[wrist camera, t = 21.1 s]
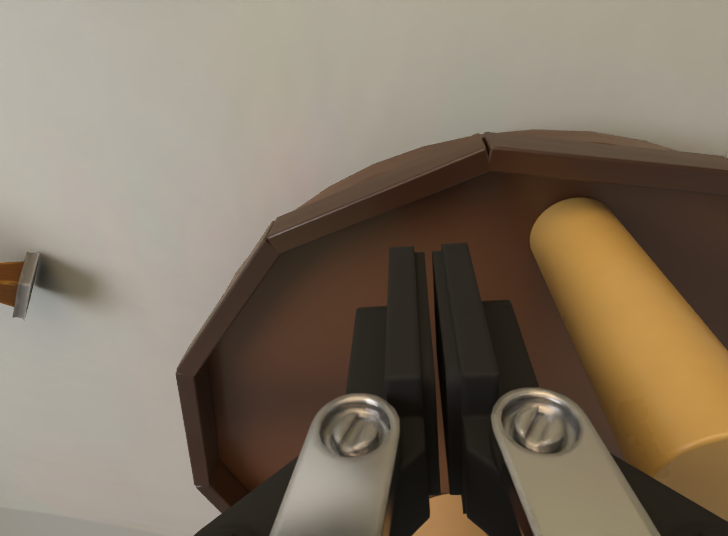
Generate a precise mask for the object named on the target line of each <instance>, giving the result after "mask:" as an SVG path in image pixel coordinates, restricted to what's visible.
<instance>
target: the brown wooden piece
mask: <svg viewBox="0 0 728 536" xmlns="http://www.w3.org/2000/svg"><path fill="white" fill-rule="evenodd" d="M39 253H40V252H38V253H29V252H27V254H26V258H25V261H24V262H6V263H0V303H3V304H6V305H9V306H13V307H14V312H13V317H19V318H22V319H23V320H24V321H25V317H26V313H27V309H28V305H29V301H30V297H31V293H32V289H33V285H34V280H35V274H36V269H37V263H38V258H39Z"/></svg>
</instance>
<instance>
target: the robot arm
mask: <svg viewBox="0 0 728 536" xmlns="http://www.w3.org/2000/svg"><path fill="white" fill-rule="evenodd" d="M432 266H433V288H434V311H435V333H436V353H437V365H438V376H439V386H440V397H441V407H442V418H443V428H444V439H445V449H446V460H447V470H448V481H449V491H450V495H461V499H462V507H463V514H467V518H468V519H470V520H471V521H472V522H473V523H474V524H475V525H477V526H478V527H479V528H480V529H481V530H483V531H484V532H485V533H486V534H487V536H728V522H727V521H726V520H724V519H722V518H721V517H719V516H717V515H715V514H714V513H712V512H710V511H709V510H707V509H705V508H703V507H702V506H700V505H698V504H697V503H695V502H693V501H692V500H690V499H688V498H686V497H685V496H683V495H681V494H680V493H678V492H676V491H674V490H673V489H671V488H669V487H668V486H666V485H664V484H663V483H661V482H659V481H657V480H656V479H654V478H652V477H651V476H649V475H647V474H645V473H644V472H642V471H640V470H639V469H637V468H635V467H633V466H632V465H630V464H628V463H627V462H625V461H623V460H622V459H620V458H618V457H616V456H615V455H613V454H611V453H610V452H609V451H608V449H607V448H606V446H605V444H604V443H603V441H602V440H601V438H600V436H599V435H598V433H597V431H596V430H595V428H594V427H593V425H592V423H591V422H590V420H589V418H588V417H587V415H586V414H585V413H584V412H583V410H582V409H581V408H580V407H579V406H578V404H576V403H575V402H573V401H572V400H571V399H569V398H568V397H566V396H565V395H562V394H560V393H557V392H555V391H553V390H549V389H544V388H539V385H538V382H537V379H536V376H535V373H534V370H533V367H532V364H531V361H530V358H529V355H528V352H527V349H526V346H525V343H524V340H523V337H522V334H521V331H520V327H519V324H518V321H517V318H516V315H515V312H514V309H513V306H512V304H511V302H510V300H491V301H481V296H480V292H479V288H478V284H477V280H476V276H475V272H474V268H473V264H472V260H471V255H470V251H469V247H468V244H467V242H464V243H449V244H441V251H432ZM429 495H441V488H440V467H439V446H438V425H437V404H436V384H435V370H434V357H433V346H432V334H431V323H430V311H429V299H428V288H427V276H426V265H425V253H424V252H414V246H403V247H390V248H389V268H388V296H387V306H378V307H359V308H357V309H356V315H355V323H354V331H353V339H352V347H351V355H350V363H349V371H348V379H347V387H346V395H344V396H340V397H337V398H336V399H334V400H332V401H330V402H328V403H327V404H326V405H325V406H324V407H322V408H321V409H320V410H319V411H318V412H317V414H316V416H315V418H314V419H313V421H312V423H311V426H310V428H309V431H308V434H307V436H306V439H305V442H304V444H303V447H302V450H301V452H300V455H299V456H297V457H296V458H295V459H293V460H292V461H291V462H289V463H288V464H287V465H285V466H284V467H283V468H281V469H280V470H279V471H278V472H276V473H275V474H274V475H272V476H271V477H270V478H268V479H267V480H266V481H264V482H263V483H262V484H260V485H259V486H258V487H256V488H255V489H254V490H252V491H251V492H250V493H248V494H247V495H246V496H245V497H243V498H242V499H241V500H239V501H238V502H237V503H235V504H234V505H233V506H231V507H230V508H229V509H227V510H226V511H225V512H223V513H222V514H221V515H219V516H218V517H217V518H215V519H214V520H213V521H212V522H210V523H209V524H208V525H206V526H205V527H204V528H202V529H201V530H200V531H198V532H197V533H196V534H195V535H194V536H412V535H413V534H414V533H415V532H416V531H417V530H418V529H419V528H420V527H421V526H422V525H423V524H424V523H425V522H426V521H427V520H428V519H429V518H430V502H429Z"/></svg>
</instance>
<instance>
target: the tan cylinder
mask: <svg viewBox="0 0 728 536" xmlns="http://www.w3.org/2000/svg"><path fill="white" fill-rule="evenodd" d="M429 502H430V518H429V519H428V520H427V521H426V522H425V523H424V524H423V525H422V526H421V527H420V528H419V529H418V530H417V531H416V532H415V533H414V534H413V535H412V536H487V534H486V533H485V532H484V531H483V530H481V529H480V528H479V527H478V526H477V525H475V524H474V523H473V522H472V521H471V520H470V519H468V518H467V514H463V507H462V499H461V495H450V493H449V494H443V495H439V496H435V497H432V498H430V499H429Z"/></svg>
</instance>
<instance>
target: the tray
mask: <svg viewBox="0 0 728 536" xmlns="http://www.w3.org/2000/svg"><path fill="white" fill-rule="evenodd" d="M464 242H467V244H468V247H469V251H470V255H471V260H472V264H473V268H474V272H475V276H476V280H477V284H478V288H479V292H480V296H481V301H491V300H510V302H511V304H512V306H513V309H514V312H515V315H516V318H517V321H518V324H519V327H520V331H521V334H522V337H523V340H524V343H525V346H526V349H527V352H528V355H529V358H530V361H531V364H532V367H533V370H534V373H535V376H536V379H537V382H538V385H539V388H544V389H549V390H553V391H555V392H557V393H560V394H562V395H565V396H566V397H568V398H569V399H571V400H572V401H573V402H575V403H576V404H578V406H579V407H580V408H581V409H582V410H583V412H584V413H585V414H586V415H587V417H588V418H589V420H590V422H591V423H592V425H593V427H594V428H595V430H596V431H597V433H598V435H599V436H600V438H601V440H602V441H603V443H604V444H605V446H606V448H607V449H608V451H609V452H610V453H611V454H613V455H615V456H616V457H618V458H620V459H622V460H623V461H625V462H627V463H628V464H630V465H632V466H633V467H635V468H637V469H639V470H640V471H642V472H644V473H645V474H647V475H649V476H651V477H652V478H654V479H656V480H657V481H659V482H661V483H663V484H664V485H666V486H668V487H669V488H671V489H673V490H674V491H676V492H678V493H680V494H681V495H683V496H685V497H686V498H688V499H690V500H692V501H693V502H695V503H697V504H698V505H700V506H702V507H703V508H705V509H707V510H709V511H710V512H712V513H714V514H715V515H717V516H719V517H721V518H722V519H724V520H726V521H727V522H728V158H725V157H723V156H717V155H708V154H698V153H688V152H678V151H675V150H672V149H669V148H666V147H663V146H659V145H656V144H653V143H650V142H647V141H643V140H637V139H631V138H625V137H619V136H613V135H608V134H602V133H596V132H587V131H559V130H524V131H513V132H502V133H491V132H485V133H484V134H475V135H472V136H469V137H465V138H460V139H456V140H451V141H447V142H442V143H438V144H433V145H428V146H424V147H421V148H418V149H415V150H412V151H409V152H407V153H404V154H401V155H398V156H395V157H393V158H390V159H387V160H384V161H381V162H378V163H376V164H373V165H371V166H369V167H367V168H365V169H363V170H361V171H359V172H357V173H355V174H353V175H351V176H349V177H347V178H345V179H343V180H341V181H339V182H337V183H336V184H334V185H332V186H330V187H328V188H326V189H325V190H324V191H322V192H321V193H319V194H318V195H316V196H315V197H313V198H312V199H311V200H309V201H308V202H306V203H305V204H303V205H302V206H300V207H299V208H298V209H296V210H294V211H292V212H290V213H287V214H285V215H282V216H280V217H278V218H277V219H276V220H275V221H273V222H272V223H271V224H270V226H269V227H268V229H267V230H266V232H265V233H264V235H263V236H262V238H261V239H260V241H259V242H258V244H257V245H256V247H255V248H254V250H253V251H252V253H251V254H250V255H249V257H248V258H247V259H246V260H245V262H244V263H243V264H242V266H241V267H240V268H239V269H238V271H237V272H236V274H235V276H234V277H233V279H232V281H231V283H230V285H229V287H228V288H227V290H226V292H225V293H224V295H223V296H222V298H221V299H220V301H219V302H218V304H217V305H216V307H215V308H214V310H213V311H212V313H211V314H210V316H209V317H208V319H207V320H206V322H205V323H204V325H203V326H202V328H201V329H200V331H199V332H198V334H197V335H196V337H195V338H194V340H193V341H192V343H191V344H190V346H189V348H188V349H187V351H186V353H185V355H184V357H183V358H182V360H181V362H180V364H179V366H178V367H177V372H176V379H177V385H178V391H179V396H180V402H181V408H182V414H183V420H184V426H185V432H186V438H187V444H188V450H189V456H190V462H191V468H192V473H193V479H194V485H196V488H197V489H198V490H199V491H200V492H201V493H202V494H203V495H204V496H205V497H206V498H207V499H208V500H209V501H210V502H211V503H212V504H213V505H214V506H215V507H216V508H217V509H218V510H219V511H220V512H221V513H223V512H225V511H226V510H227V509H229V508H230V507H231V506H233V505H234V504H235V503H237V502H238V501H239V500H241V499H242V498H243V497H245V496H246V495H247V494H248V493H250V492H251V491H252V490H254V489H255V488H256V487H258V486H259V485H260V484H262V483H263V482H264V481H266V480H267V479H268V478H270V477H271V476H272V475H274V474H275V473H276V472H278V471H279V470H280V469H281V468H283V467H284V466H285V465H287V464H288V463H289V462H291V461H292V460H293V459H295V458H296V457H297V456H299V455H300V452H301V450H302V447H303V444H304V442H305V439H306V436H307V434H308V431H309V428H310V426H311V423H312V421H313V419H314V418H315V416H316V414H317V412H318V411H319V410H320V409H321V408H322V407H324V406H325V405H326V404H327V403H328V402H330V401H332V400H334V399H336V398H337V397H340V396H344V395H346V387H347V379H348V371H349V363H350V355H351V347H352V339H353V331H354V323H355V315H356V309H357V308H359V307H378V306H387V296H388V268H389V248H390V247H403V246H414V252H424V253H425V265H426V276H427V288H428V299H429V311H430V323H431V334H432V346H433V357H434V370H435V384H436V404H437V425H438V446H439V467H440V488H441V495H443V494H449V493H450V491H449V481H448V470H447V460H446V449H445V439H444V428H443V418H442V407H441V397H440V386H439V376H438V365H437V353H436V333H435V311H434V288H433V266H432V251H441V244H449V243H464ZM435 496H439V495H429V499H430V498H432V497H435Z"/></svg>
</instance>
